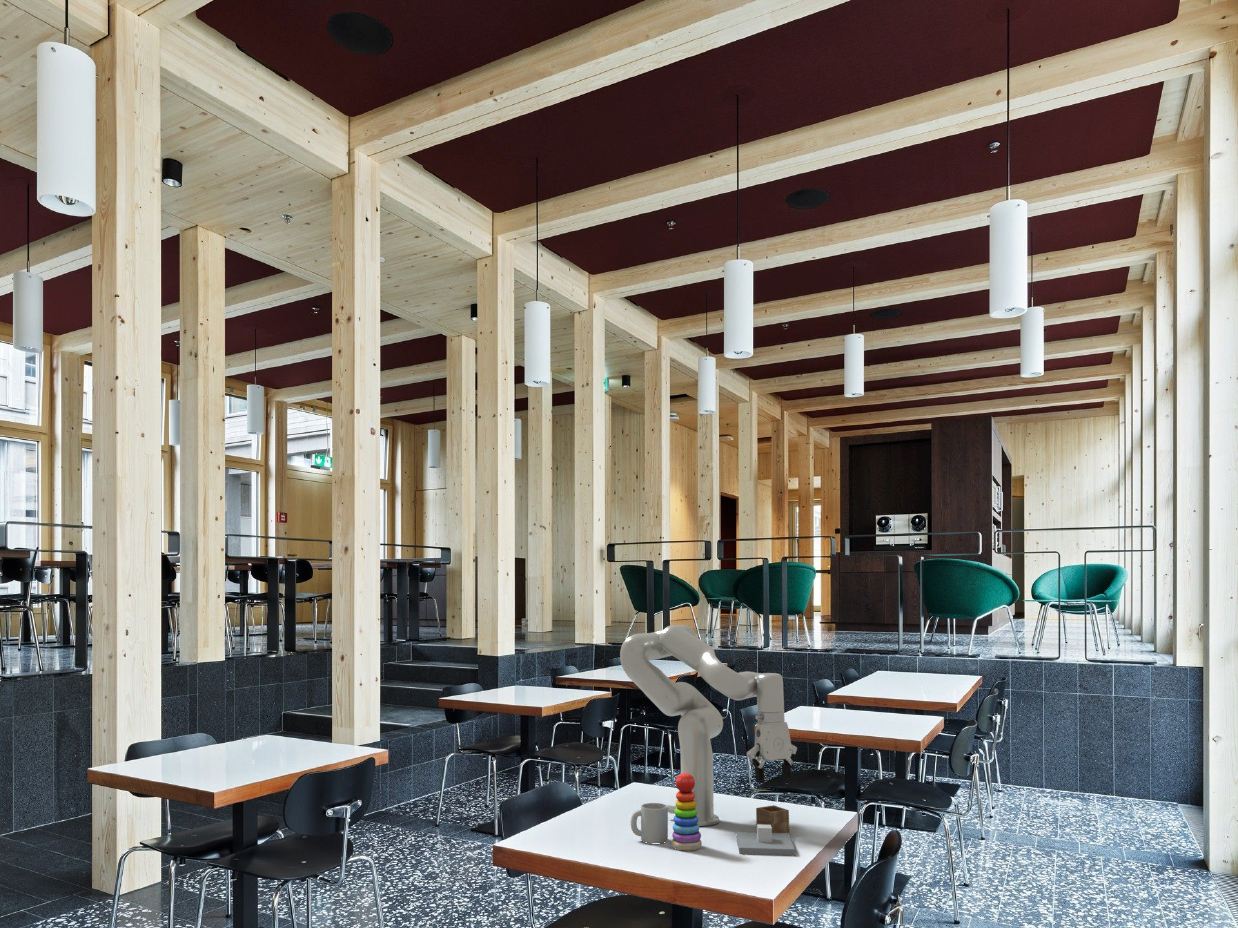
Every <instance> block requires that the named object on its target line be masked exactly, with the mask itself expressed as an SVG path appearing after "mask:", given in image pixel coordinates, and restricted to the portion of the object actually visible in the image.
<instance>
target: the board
mask: <svg viewBox="0 0 1238 928" xmlns="http://www.w3.org/2000/svg"><path fill="white" fill-rule="evenodd" d="M735 833H736V834H735V836H736V837H735V838H736V843H737V846H738V847H737V848H738V853H739V854H740V855H762V856H763V855H764V856H765V855H766V856H767V855H768V856H793V855H794V856H796V849H795V846H794V844H793V842H792V839H791V837H790V834H789V833H772V827H771V825H761V824H757V826H756V832H754V831H749V832H748V831H746V832H744V831H736V832H735Z"/></svg>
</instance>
